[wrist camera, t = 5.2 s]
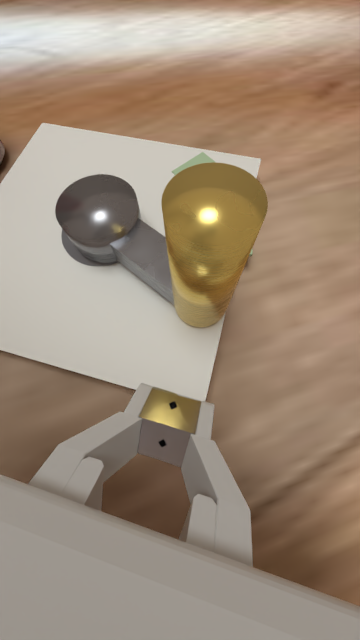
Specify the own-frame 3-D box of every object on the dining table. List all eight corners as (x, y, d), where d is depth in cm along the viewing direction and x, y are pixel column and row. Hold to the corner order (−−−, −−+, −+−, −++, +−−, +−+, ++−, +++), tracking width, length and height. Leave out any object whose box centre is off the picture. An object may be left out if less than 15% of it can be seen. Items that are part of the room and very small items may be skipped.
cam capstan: (59, 237, 20) (-41, 106, 11) (110, 195, 22) (56, 49, 13) (196, 348, 17) (206, 285, 8) (245, 289, 18) (302, 179, 9)
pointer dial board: (-70, 329, 21) (-98, 321, 18) (52, 141, 28) (41, 120, 26) (215, 413, 18) (219, 414, 16) (265, 178, 25) (272, 158, 23)
